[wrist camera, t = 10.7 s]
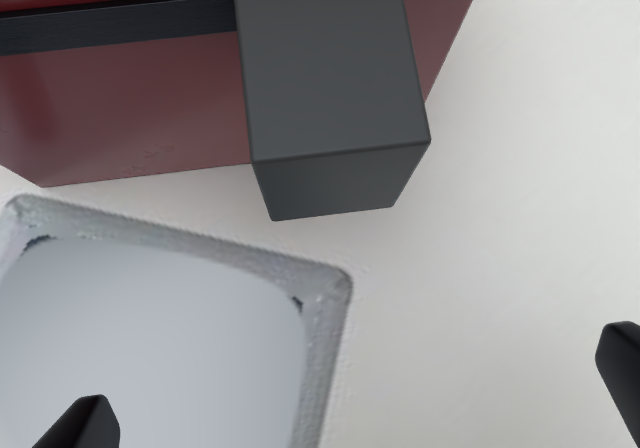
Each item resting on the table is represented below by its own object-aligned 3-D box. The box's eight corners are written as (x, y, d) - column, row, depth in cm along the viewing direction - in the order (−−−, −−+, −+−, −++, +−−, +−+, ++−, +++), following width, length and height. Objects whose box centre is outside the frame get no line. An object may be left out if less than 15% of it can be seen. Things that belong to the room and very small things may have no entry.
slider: (393, 207, 12) (434, 142, 8) (270, 222, 12) (250, 164, 8) (368, 62, 13) (393, -62, 9) (254, 74, 13) (228, -45, 9)
